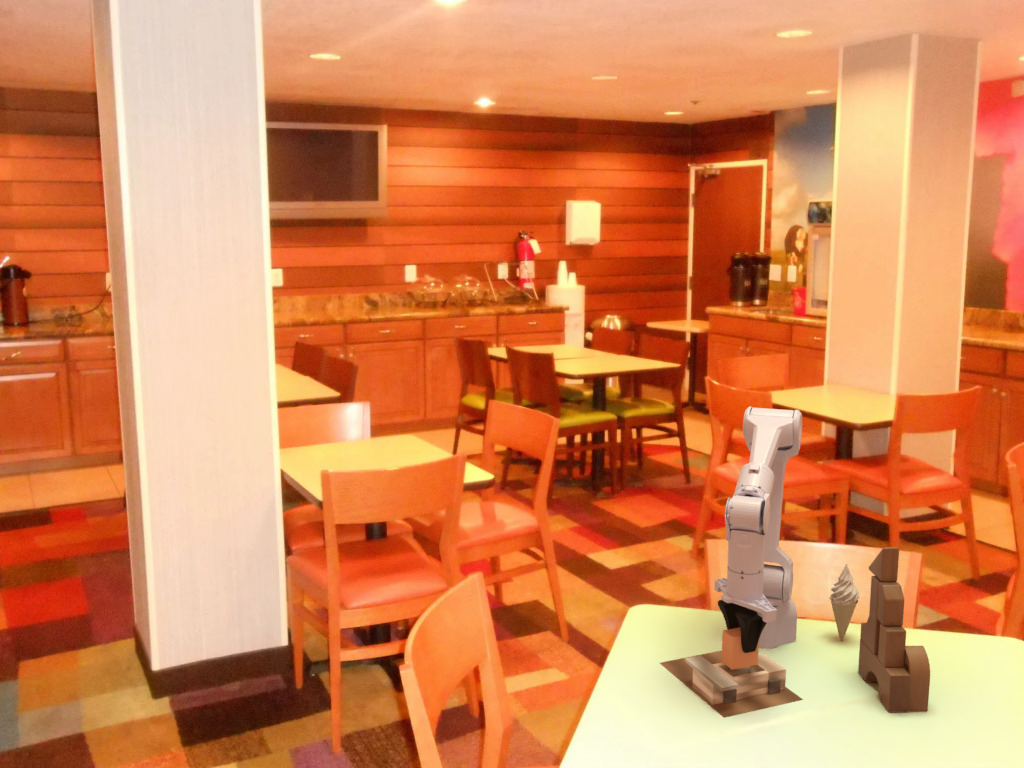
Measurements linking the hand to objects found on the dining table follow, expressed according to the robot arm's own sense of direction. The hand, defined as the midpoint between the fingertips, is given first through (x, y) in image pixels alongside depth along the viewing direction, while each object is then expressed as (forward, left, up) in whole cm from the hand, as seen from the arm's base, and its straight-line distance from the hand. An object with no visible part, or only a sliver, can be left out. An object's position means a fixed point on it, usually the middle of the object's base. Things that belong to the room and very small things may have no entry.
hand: (742, 646), depth 157 cm
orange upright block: (0, 0, -3) cm, 3 cm away
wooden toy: (-24, +8, -8) cm, 27 cm away
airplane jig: (0, -3, -8) cm, 9 cm away
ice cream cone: (-29, -10, -8) cm, 32 cm away
